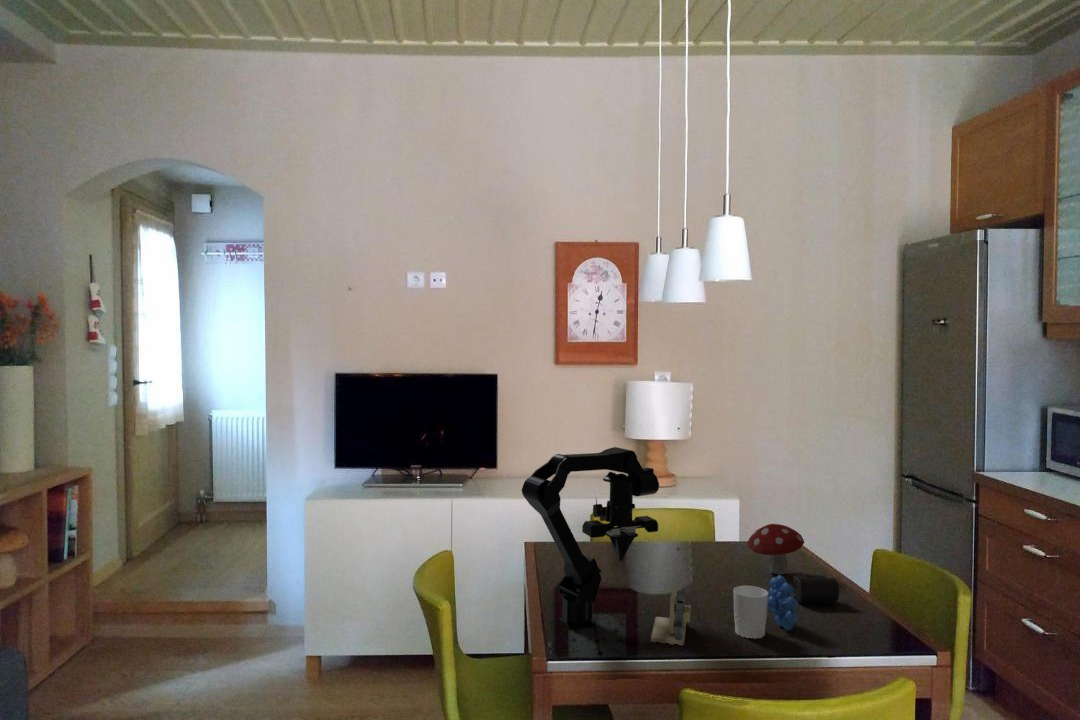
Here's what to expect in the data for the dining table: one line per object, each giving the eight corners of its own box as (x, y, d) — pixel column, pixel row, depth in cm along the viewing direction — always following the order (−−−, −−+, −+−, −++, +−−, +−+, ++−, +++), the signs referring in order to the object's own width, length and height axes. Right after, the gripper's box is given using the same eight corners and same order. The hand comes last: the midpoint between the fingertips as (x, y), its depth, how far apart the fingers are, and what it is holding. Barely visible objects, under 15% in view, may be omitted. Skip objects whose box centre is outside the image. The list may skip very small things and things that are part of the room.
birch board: (651, 641, 167) (651, 637, 167) (655, 620, 179) (655, 616, 179) (683, 645, 165) (683, 641, 165) (686, 623, 177) (686, 619, 177)
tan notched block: (669, 634, 168) (670, 599, 168) (671, 620, 176) (672, 587, 176) (689, 636, 167) (690, 601, 167) (690, 622, 175) (691, 589, 174)
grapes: (753, 618, 182) (754, 570, 181) (778, 616, 183) (780, 568, 183) (777, 637, 170) (778, 586, 170) (803, 635, 172) (805, 584, 171)
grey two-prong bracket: (674, 639, 166) (674, 610, 166) (676, 619, 177) (677, 592, 177) (682, 640, 165) (682, 611, 165) (684, 620, 177) (685, 593, 177)
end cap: (800, 607, 190) (801, 581, 189) (790, 597, 197) (791, 572, 196) (839, 607, 190) (840, 582, 190) (827, 598, 197) (828, 573, 197)
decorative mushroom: (802, 586, 205) (803, 533, 205) (743, 578, 211) (745, 527, 211) (804, 570, 220) (805, 520, 219) (749, 563, 226) (750, 514, 225)
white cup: (747, 642, 167) (748, 599, 167) (725, 629, 175) (726, 587, 174) (774, 637, 170) (775, 594, 170) (752, 624, 178) (753, 583, 177)
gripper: (638, 489, 194) (637, 548, 195) (573, 494, 188) (572, 554, 188) (660, 498, 184) (658, 560, 185) (592, 503, 177) (591, 567, 178)
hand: (619, 560), depth 184 cm, fingers closed
